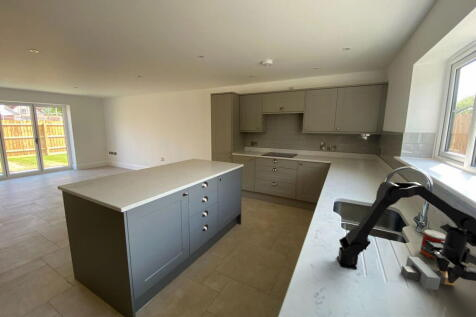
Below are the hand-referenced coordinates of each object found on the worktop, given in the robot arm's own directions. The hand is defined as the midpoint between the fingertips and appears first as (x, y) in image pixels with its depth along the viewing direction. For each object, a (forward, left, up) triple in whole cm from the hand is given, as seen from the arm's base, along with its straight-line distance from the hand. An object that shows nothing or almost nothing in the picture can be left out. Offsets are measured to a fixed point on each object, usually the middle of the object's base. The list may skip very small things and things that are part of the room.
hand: (446, 279), depth 78 cm
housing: (-9, 0, -1) cm, 9 cm away
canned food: (+6, +18, -1) cm, 19 cm away
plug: (-7, 0, -1) cm, 7 cm away
